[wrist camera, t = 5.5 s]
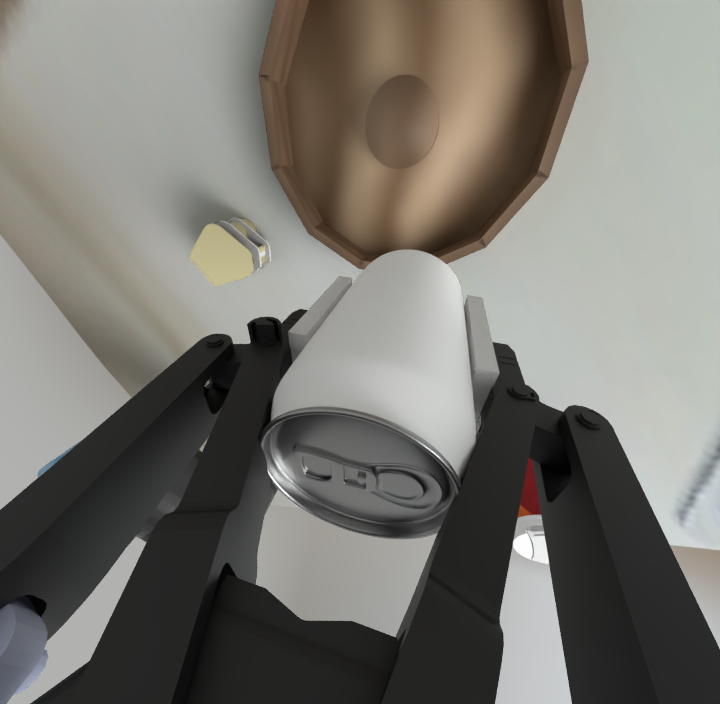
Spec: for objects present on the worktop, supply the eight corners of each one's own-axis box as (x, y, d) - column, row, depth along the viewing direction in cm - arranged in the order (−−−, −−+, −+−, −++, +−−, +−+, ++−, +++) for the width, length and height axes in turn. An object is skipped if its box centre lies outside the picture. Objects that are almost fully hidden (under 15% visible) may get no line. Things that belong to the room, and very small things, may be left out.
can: (452, 352, 18) (455, 568, 9) (356, 339, 20) (268, 513, 10) (474, 250, 14) (523, 430, 5) (354, 243, 16) (211, 374, 6)
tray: (299, 251, 32) (284, 261, 29) (266, -73, 19) (232, -116, 16) (504, 270, 28) (511, 284, 25) (633, -131, 15) (679, -204, 12)
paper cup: (482, 426, 40) (495, 531, 29) (541, 412, 36) (583, 526, 25) (504, 460, 42) (524, 568, 31) (562, 450, 38) (608, 569, 27)
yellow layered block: (251, 294, 38) (226, 312, 33) (201, 235, 35) (165, 246, 30) (302, 255, 33) (280, 270, 28) (249, 181, 30) (214, 185, 25)
